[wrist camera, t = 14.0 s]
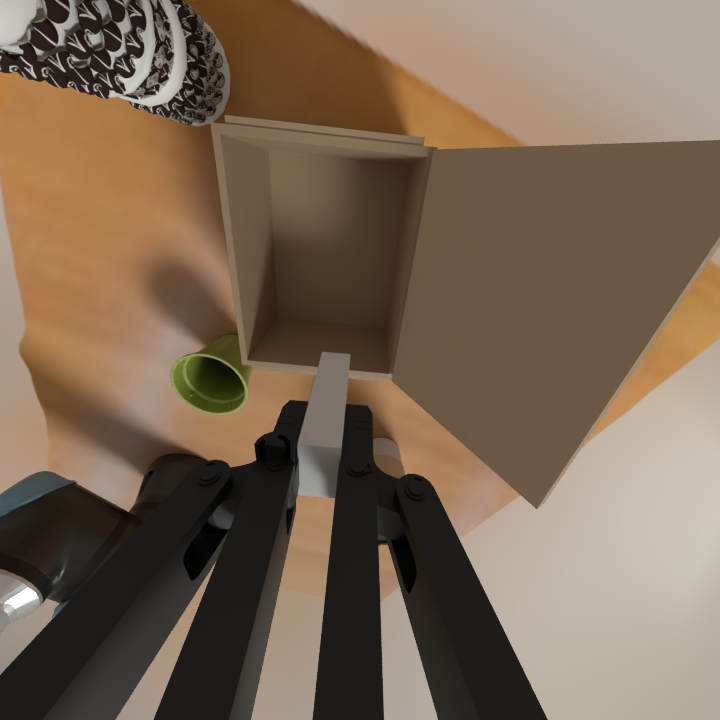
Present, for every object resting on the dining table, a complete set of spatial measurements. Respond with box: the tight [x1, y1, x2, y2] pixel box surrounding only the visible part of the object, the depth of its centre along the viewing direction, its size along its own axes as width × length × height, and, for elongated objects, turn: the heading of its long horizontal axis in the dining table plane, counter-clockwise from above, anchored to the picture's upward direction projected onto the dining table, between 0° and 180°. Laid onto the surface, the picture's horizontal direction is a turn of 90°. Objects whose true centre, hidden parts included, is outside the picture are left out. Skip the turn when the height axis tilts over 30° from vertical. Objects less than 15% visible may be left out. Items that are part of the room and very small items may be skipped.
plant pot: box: [170, 334, 252, 415], centre depth 40 cm, size 9×9×9 cm
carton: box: [210, 115, 437, 382], centre depth 31 cm, size 16×21×12 cm
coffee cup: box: [373, 438, 405, 546], centre depth 47 cm, size 9×9×15 cm
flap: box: [392, 140, 720, 509], centre depth 20 cm, size 16×20×1 cm
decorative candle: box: [0, 0, 230, 127], centre depth 17 cm, size 9×9×25 cm
